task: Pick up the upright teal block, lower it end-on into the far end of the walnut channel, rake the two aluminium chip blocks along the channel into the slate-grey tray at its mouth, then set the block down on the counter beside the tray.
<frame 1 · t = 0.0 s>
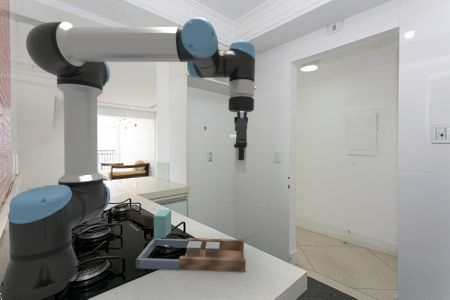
hand: (239, 169, 64), 28 cm above the countertop, fingers open, 13 cm apart
upright teal block: (162, 239, 78), on the countertop
channel: (214, 262, 64), on the countertop
hand tool: (142, 224, 93), on the countertop
tray: (164, 260, 64), on the countertop
chip a: (212, 258, 64), point 1 cm above the countertop, touching channel
chip b: (194, 257, 64), point 1 cm above the countertop, touching channel
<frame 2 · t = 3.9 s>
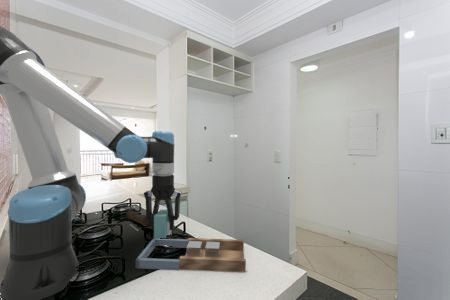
hand: (162, 237, 78), 1 cm above the countertop, fingers closed on upright teal block, 4 cm apart
upright teal block: (162, 239, 78), on the countertop, touching gripper
everything else where it was.
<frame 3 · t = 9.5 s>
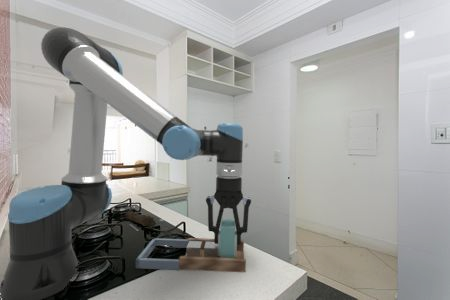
hand: (227, 253, 64), 3 cm above the countertop, fingers closed on upright teal block, 4 cm apart
upright teal block: (227, 255, 64), point 2 cm above the countertop, touching gripper
chip a: (211, 257, 64), point 1 cm above the countertop, touching gripper
everything else where it was.
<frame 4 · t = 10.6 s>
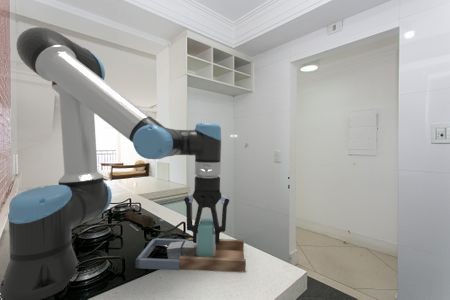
hand: (206, 253, 64), 3 cm above the countertop, fingers closed on upright teal block, 4 cm apart
upright teal block: (206, 255, 64), point 2 cm above the countertop, touching gripper
chip a: (190, 257, 64), point 1 cm above the countertop, touching gripper
chip b: (177, 257, 64), point 1 cm above the countertop, tilted 8°
everything else where it was.
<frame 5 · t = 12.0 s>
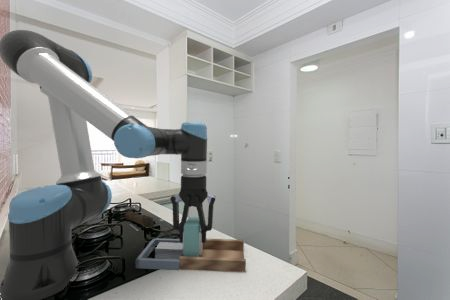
hand: (192, 252, 64), 3 cm above the countertop, fingers closed on upright teal block, 4 cm apart
upright teal block: (192, 254, 64), point 2 cm above the countertop, touching gripper
chip a: (177, 259, 64), point 1 cm above the countertop, touching gripper, tray
chip b: (164, 258, 64), resting on tray
everything else where it was.
when the fingers open (2 cm above the countertop, at t = 16.9 s): upright teal block stays where it is, on the countertop.
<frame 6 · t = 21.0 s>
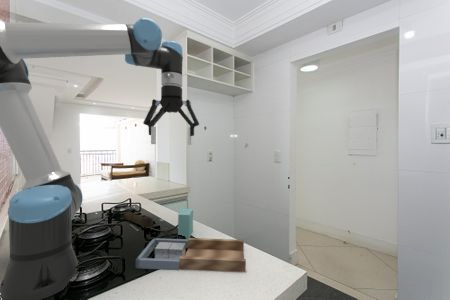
hand: (171, 144, 79), 35 cm above the countertop, fingers open, 13 cm apart
upright teal block: (185, 238, 79), on the countertop
chip a: (177, 259, 64), resting on tray
at the end: chip a inside the target area on the tray (3.6 cm from its centre), point 0.5 cm above the tray's base; chip b inside the target area on the tray (0.7 cm from its centre), point 0.5 cm above the tray's base; upright teal block tilted 0° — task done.
